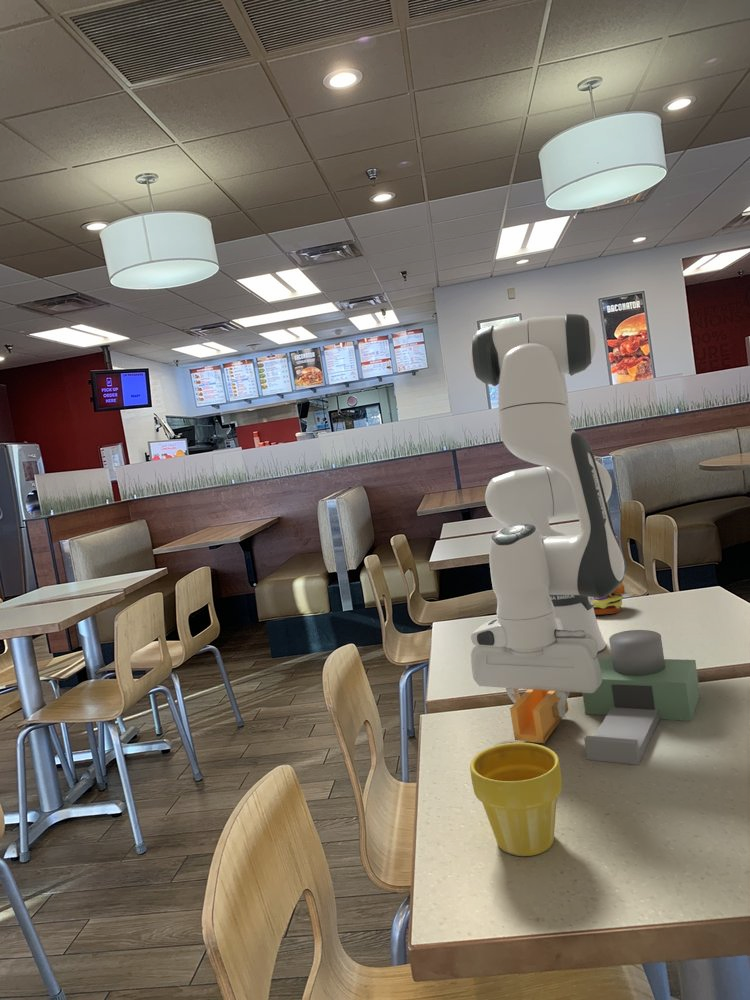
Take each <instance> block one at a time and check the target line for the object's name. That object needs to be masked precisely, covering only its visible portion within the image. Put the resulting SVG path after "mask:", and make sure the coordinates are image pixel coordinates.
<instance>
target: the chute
mask: <svg viewBox="0 0 750 1000" xmlns="http://www.w3.org/2000/svg"><path fill="white" fill-rule="evenodd" d="M520 696H521V697H520V698H519V699H518V700H517V702H516V703H515V704H514V703H513V705H512V706H511V707H510V708H509V711H510V716H511V723H512V730H513V735H514V736H513V737H514V741H519V742H520V741H521V742H527V743H538V744H539V743H540V744H545V742H546V741H547V740H548V738H549V737H550V735H552V733H553V731H554V730H555V729H556V728H557V727H558V725H559V723H560V722H561V721H562V719H563V718H561V717H554V716H553V713H554V712H553V711H552V706H553V705H554V704H555V702H557V703H559V701H560V698H561V697H557V694H556V691H548V690H532V689H526V691H524V693H523V694H522V695H520ZM565 711H566V713H565V715H566V714H567V712H568V711H569V704H568V699H567V700H566V702H565Z"/></svg>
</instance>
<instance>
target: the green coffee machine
mask: <svg viewBox="0 0 750 1000" xmlns="http://www.w3.org/2000/svg"><path fill="white" fill-rule="evenodd" d="M608 641H609V646H610V647H609V648H610V654H611V657H598V656H597V658H598V661H599V665H600V669H601V673H602V683H601V685H600V687H599V688H598V689H597V690H596V691H595V692H594V693H582V700H583V701H582V702H583V706H584V713H585V714H587V715H600V716H605V717H604V719H603V721H602V722H601V724H600V726H599V727H598V729H596V732H595V733H594V735H586V736H585V737H584V740H583V741H584V747H585V754H586V755H585V756H586V760H589V761H599V762H605V763H606V762H607V763H608V762H609V763H616V764H626V765H636V766H639V764H640V763H641V760H642V758H643V756H644V754H645V751H646V749H647V747H648V745H649V743H650V740H651V738H652V736H653V734H654V731H655V729H656V728H657V725H658V723H659V720H669V721H671V720H672V721H687V722H692V718H693V716H694V713H695V711H696V708H697V706H698V703H699V700H700V697H701V691H700V685H699V676H698V669H697V663H696V659H676V658H675V659H673V658H671V659H669V658H668V659H667V658H665V656H664V647H663V641H662V635H661V634H660V633H659V632H657V631H654V630H649V629H631V630H625V631H623V630H622V631H620V632H616V633H614V634H612V635H610V637H609V638H608Z"/></svg>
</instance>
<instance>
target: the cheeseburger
mask: <svg viewBox="0 0 750 1000" xmlns="http://www.w3.org/2000/svg"><path fill="white" fill-rule="evenodd" d="M625 594H627V592H626V591H625V585H624V583H623V582H622V583H621V584H620V585H619V586H618V587H617V588H616V589H615V590H614V591H613V592H612V593H610V594H609V595H608V596H606V597H604V598H598V597H594V606H593V608H594V612H595V616H596V615H612V614H618V613H619V612H620V611H621V608H622V605H623V597H624V596H623V595H625Z"/></svg>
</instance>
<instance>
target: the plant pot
mask: <svg viewBox="0 0 750 1000" xmlns="http://www.w3.org/2000/svg"><path fill="white" fill-rule="evenodd" d="M561 769H562V768H561V763H560V759H559V756H558V755H557V753H556V752H555V751H554V750H552V749H550V748H549V747H547V746H545V745H541V744H539V743H538V744H537V743H533V742H507V743H502V744H497V745H494V746H490V747H488V748H485V749H484V750H482V751H479V752H478V753H477V754H476V755H475V756H473V758H472V759H471V761H470V764H469V772H470V778H471V784H472V789H473V794H474V795H475V797H476V799H478V801H479V802H481V803H482V805H483V809H484V812H485V813H486V817H487V819H488V821H489V825H490V827H491V829H492V833H493V835H494V838H495V841H496V843H497V846H498V847H499V848H500V849H501V850H502V851H504V852H505V853H506V854H507V853H508V854H510V855H513V856H519V857H531V856H536V855H541V854H542V853H544V852H546V851H548V850H549V849H550V848H551V846H553V843H554V839H555V828H556V812H557V802H558V796H559V795H560V793H561V791H562V789H563V788H562V787H563V782H562V781H563V778H562V770H561Z"/></svg>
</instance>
